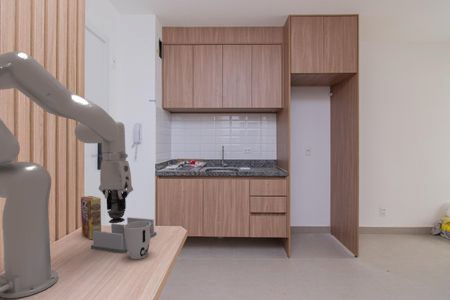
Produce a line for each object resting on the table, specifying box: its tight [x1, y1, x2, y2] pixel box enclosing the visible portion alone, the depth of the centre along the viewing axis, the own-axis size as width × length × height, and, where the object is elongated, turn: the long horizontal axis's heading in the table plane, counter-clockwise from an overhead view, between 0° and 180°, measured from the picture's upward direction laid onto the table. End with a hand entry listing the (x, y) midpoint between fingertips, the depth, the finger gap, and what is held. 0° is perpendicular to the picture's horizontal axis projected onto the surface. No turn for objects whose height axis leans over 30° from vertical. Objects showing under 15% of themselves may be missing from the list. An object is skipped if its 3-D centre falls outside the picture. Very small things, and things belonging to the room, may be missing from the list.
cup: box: [124, 221, 151, 260], centre depth 86 cm, size 8×8×10 cm
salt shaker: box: [107, 190, 126, 224], centre depth 95 cm, size 6×6×12 cm
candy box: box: [80, 195, 102, 241], centre depth 106 cm, size 9×4×15 cm, turn 49°
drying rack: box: [90, 216, 157, 254], centre depth 100 cm, size 18×14×6 cm
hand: (116, 208), depth 95 cm, fingers closed on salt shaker, 4 cm apart
